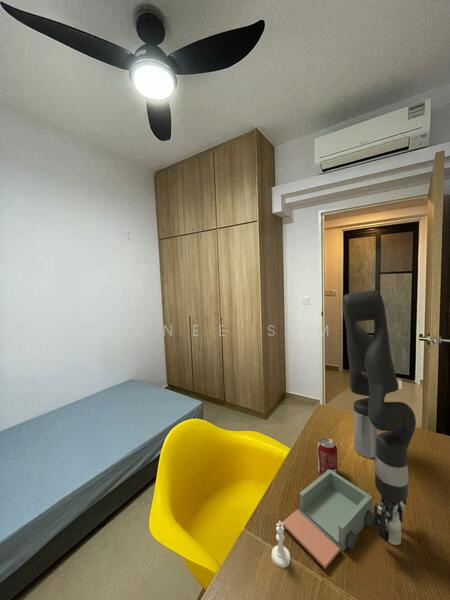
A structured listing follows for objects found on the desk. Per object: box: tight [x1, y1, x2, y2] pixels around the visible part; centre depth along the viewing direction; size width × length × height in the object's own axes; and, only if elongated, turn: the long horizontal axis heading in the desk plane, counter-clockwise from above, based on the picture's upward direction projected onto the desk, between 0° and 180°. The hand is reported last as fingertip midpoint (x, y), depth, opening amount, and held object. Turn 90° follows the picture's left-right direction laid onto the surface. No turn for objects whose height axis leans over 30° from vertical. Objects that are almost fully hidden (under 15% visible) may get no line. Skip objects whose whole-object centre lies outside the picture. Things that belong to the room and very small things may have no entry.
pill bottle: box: [386, 511, 402, 546], centre depth 68 cm, size 4×4×8 cm
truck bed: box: [298, 469, 374, 552], centre depth 76 cm, size 16×16×6 cm
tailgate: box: [281, 508, 342, 570], centre depth 69 cm, size 1×14×7 cm
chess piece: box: [271, 520, 291, 568], centre depth 65 cm, size 5×5×10 cm
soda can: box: [317, 437, 338, 476], centre depth 92 cm, size 7×7×12 cm
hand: (391, 529), depth 68 cm, fingers open, 8 cm apart
